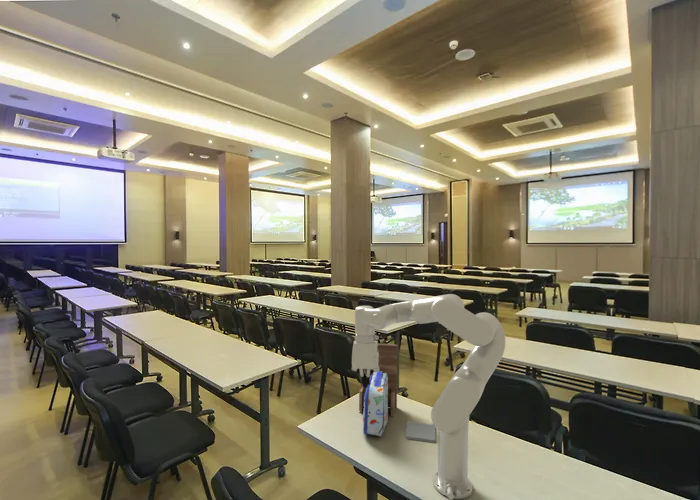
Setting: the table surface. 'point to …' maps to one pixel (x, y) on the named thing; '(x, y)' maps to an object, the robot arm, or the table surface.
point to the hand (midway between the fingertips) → (365, 386)
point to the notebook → (420, 432)
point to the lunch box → (376, 404)
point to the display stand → (390, 367)
